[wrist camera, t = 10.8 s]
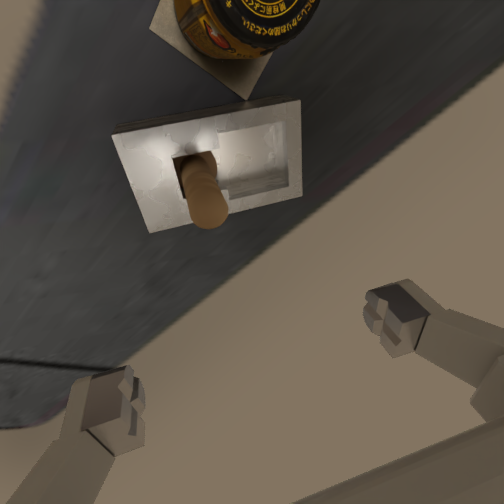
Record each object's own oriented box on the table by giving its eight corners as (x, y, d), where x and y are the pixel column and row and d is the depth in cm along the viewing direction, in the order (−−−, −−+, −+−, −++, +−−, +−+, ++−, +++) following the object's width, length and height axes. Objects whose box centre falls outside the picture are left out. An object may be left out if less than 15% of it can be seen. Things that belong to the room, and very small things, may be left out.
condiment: (197, -93, 18) (249, -264, 8) (295, 10, 22) (404, -25, 13) (148, 28, 20) (145, 4, 11) (245, 100, 25) (304, 128, 15)
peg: (209, 136, 25) (235, 173, 17) (218, 180, 27) (245, 231, 19) (163, 145, 24) (167, 188, 16) (176, 189, 27) (185, 246, 19)
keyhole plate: (281, 94, 25) (300, 99, 22) (286, 181, 30) (302, 195, 27) (116, 124, 23) (111, 135, 20) (149, 213, 28) (149, 233, 24)
